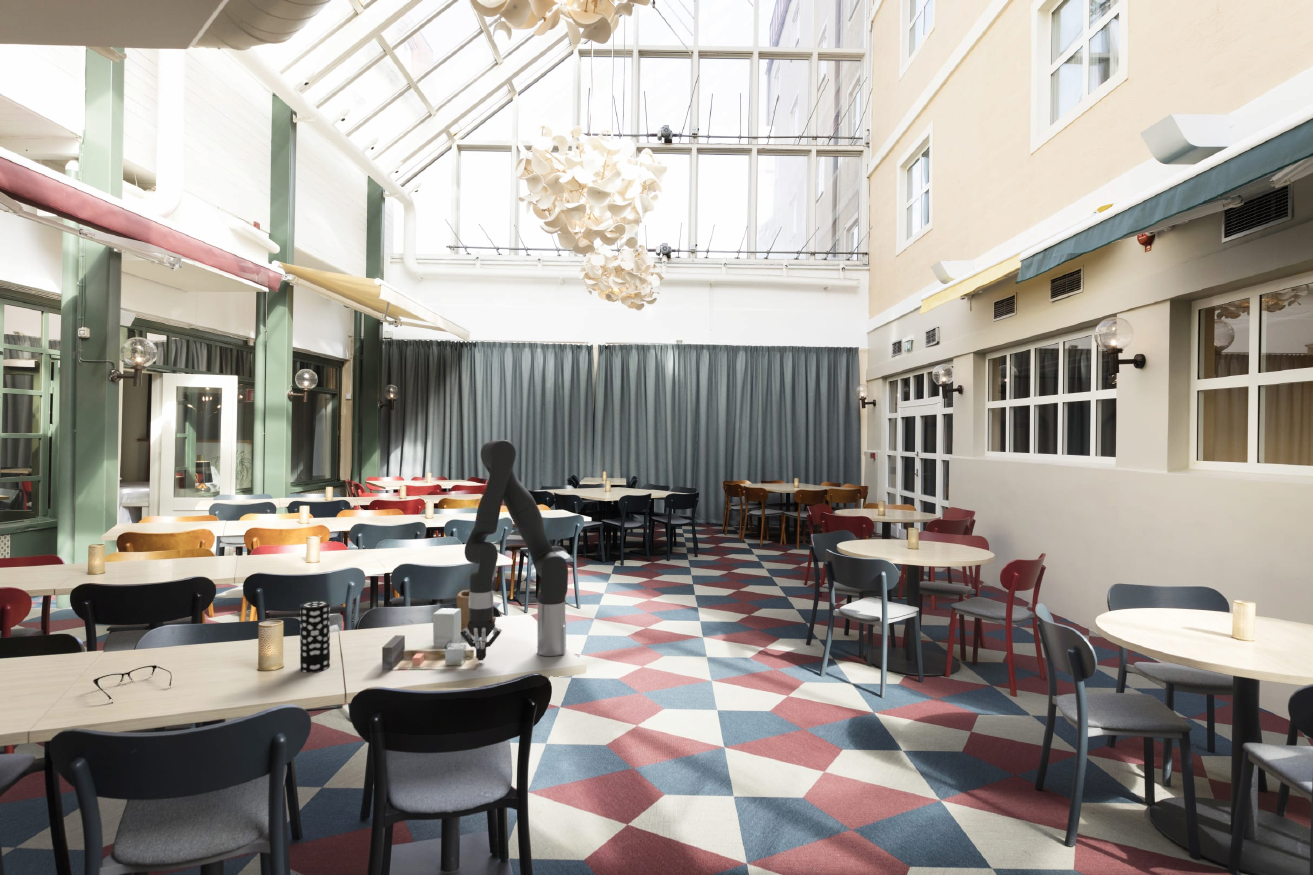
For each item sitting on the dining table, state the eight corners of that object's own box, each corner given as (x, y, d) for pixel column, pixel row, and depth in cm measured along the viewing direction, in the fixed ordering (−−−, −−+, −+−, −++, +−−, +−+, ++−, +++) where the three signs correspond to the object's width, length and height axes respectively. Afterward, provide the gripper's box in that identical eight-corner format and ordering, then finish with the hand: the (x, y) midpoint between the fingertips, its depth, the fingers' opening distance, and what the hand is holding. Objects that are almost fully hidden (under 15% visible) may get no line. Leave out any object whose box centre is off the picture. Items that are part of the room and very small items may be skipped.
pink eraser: (423, 660, 220) (423, 653, 219) (420, 665, 216) (420, 657, 216) (416, 661, 219) (416, 653, 219) (412, 665, 215) (412, 657, 215)
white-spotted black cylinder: (294, 670, 215) (293, 606, 214) (315, 661, 222) (315, 599, 222) (314, 674, 212) (314, 608, 211) (336, 665, 220) (335, 602, 219)
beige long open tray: (483, 660, 224) (483, 634, 224) (475, 674, 212) (475, 646, 212) (395, 661, 223) (395, 635, 223) (382, 675, 211) (382, 647, 211)
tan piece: (453, 635, 251) (454, 594, 251) (454, 625, 263) (454, 586, 262) (496, 632, 255) (497, 591, 255) (495, 623, 267) (495, 584, 266)
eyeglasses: (158, 675, 211) (158, 662, 210) (177, 688, 201) (176, 674, 201) (90, 692, 198) (89, 678, 198) (106, 706, 188) (105, 692, 188)
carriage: (466, 658, 221) (466, 639, 221) (461, 665, 215) (461, 645, 215) (449, 658, 221) (449, 639, 221) (444, 665, 215) (444, 645, 215)
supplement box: (461, 644, 241) (462, 608, 241) (453, 651, 234) (453, 613, 233) (441, 643, 242) (441, 607, 241) (432, 650, 234) (432, 613, 234)
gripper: (504, 601, 222) (504, 655, 222) (462, 601, 221) (462, 655, 222) (500, 607, 215) (500, 663, 215) (456, 608, 214) (456, 663, 214)
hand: (481, 659), depth 218 cm, fingers closed
